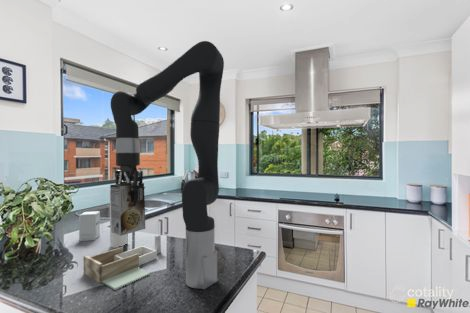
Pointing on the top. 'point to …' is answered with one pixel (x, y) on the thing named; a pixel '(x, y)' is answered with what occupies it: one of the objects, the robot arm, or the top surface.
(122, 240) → the cylindrical container
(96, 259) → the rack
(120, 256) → the white frame with handle
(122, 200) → the coffee box
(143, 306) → the top surface
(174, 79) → the robot arm
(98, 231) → the supplement box
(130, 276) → the mat
